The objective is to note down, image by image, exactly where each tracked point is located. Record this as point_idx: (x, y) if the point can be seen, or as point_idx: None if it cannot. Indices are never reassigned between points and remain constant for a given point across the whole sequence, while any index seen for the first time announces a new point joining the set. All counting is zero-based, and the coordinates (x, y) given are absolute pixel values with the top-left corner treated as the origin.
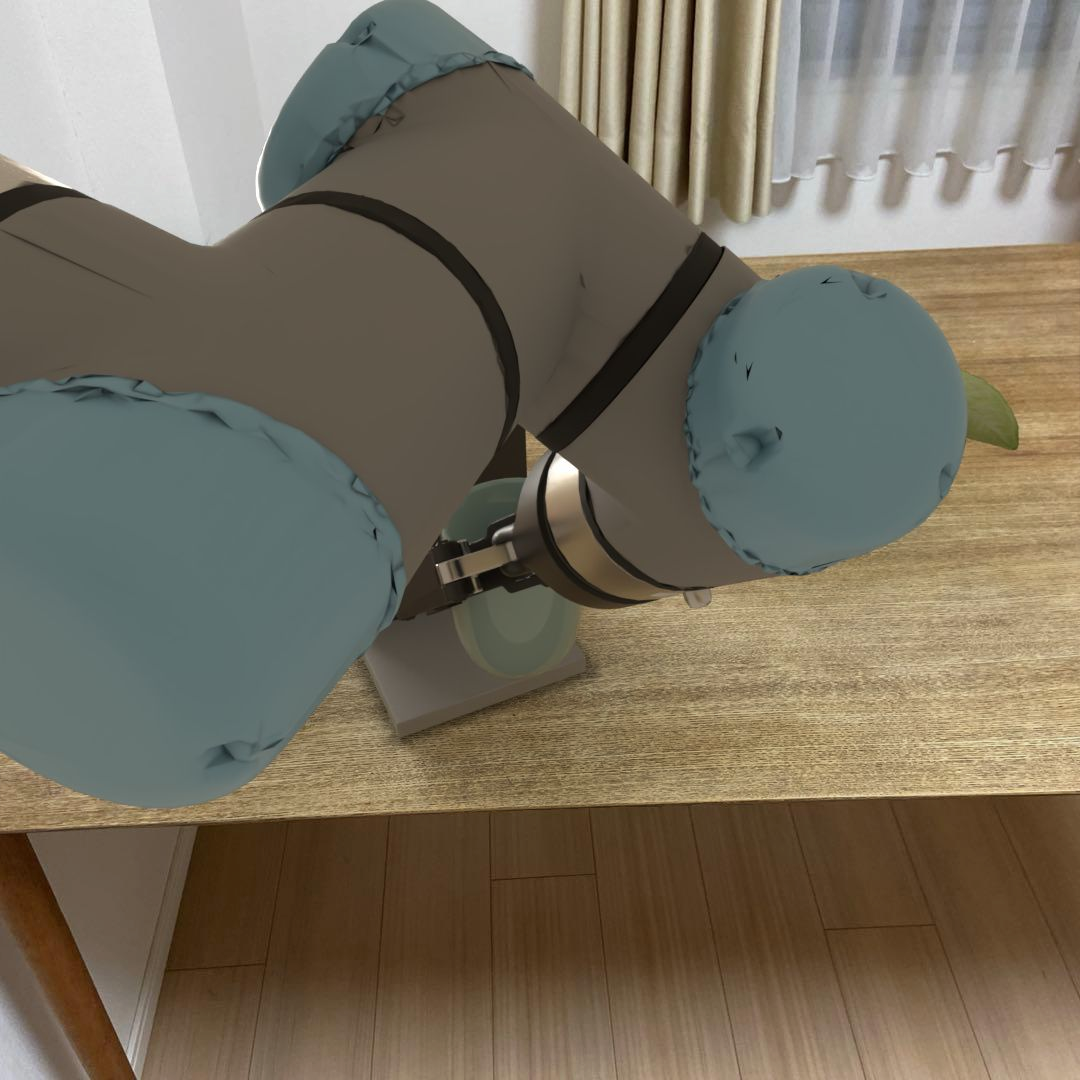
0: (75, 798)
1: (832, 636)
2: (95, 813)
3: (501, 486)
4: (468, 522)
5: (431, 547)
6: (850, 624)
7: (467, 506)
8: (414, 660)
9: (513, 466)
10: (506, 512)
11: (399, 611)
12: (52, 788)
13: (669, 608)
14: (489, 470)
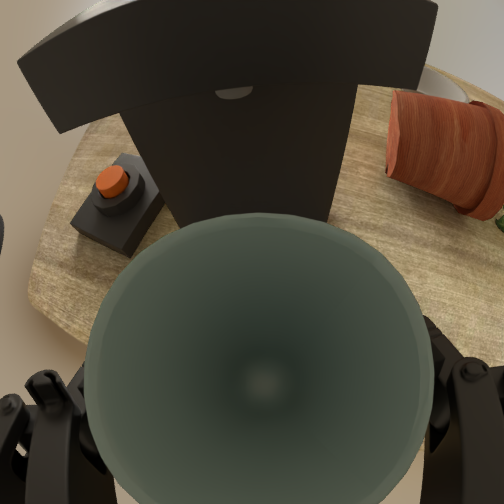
0: (42, 299)
1: (489, 330)
2: (45, 312)
3: (276, 231)
4: (186, 293)
5: (59, 383)
6: (498, 322)
7: (184, 264)
8: None
9: (332, 142)
10: (278, 280)
11: (27, 453)
12: (38, 288)
13: (413, 278)
14: (307, 140)
